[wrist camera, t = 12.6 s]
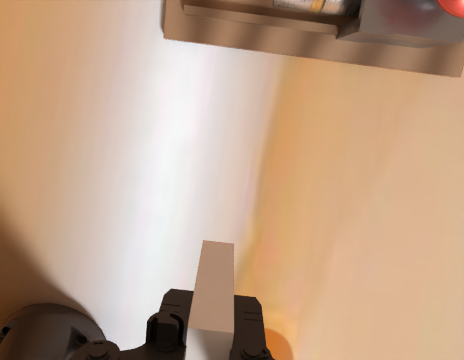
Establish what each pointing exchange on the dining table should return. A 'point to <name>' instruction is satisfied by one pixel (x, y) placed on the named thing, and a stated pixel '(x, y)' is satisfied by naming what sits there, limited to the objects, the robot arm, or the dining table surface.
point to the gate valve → (407, 23)
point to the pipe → (323, 6)
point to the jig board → (297, 35)
